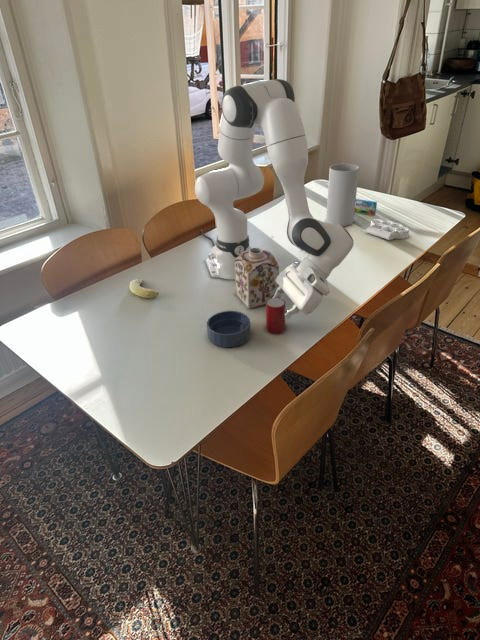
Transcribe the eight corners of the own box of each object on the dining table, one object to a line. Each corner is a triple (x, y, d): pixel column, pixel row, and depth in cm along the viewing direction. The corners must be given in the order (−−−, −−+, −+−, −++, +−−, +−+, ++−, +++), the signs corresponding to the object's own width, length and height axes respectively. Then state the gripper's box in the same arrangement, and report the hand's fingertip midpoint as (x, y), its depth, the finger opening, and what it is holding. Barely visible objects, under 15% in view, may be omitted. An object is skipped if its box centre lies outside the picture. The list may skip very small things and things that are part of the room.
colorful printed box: (350, 211, 224) (351, 199, 221) (351, 210, 225) (352, 198, 222) (374, 215, 219) (376, 202, 215) (375, 214, 220) (377, 201, 216)
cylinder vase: (333, 215, 221) (337, 162, 207) (357, 220, 215) (363, 165, 201) (321, 223, 213) (324, 169, 199) (346, 229, 206) (351, 172, 193)
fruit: (140, 304, 159) (139, 295, 157) (124, 286, 170) (123, 279, 168) (159, 297, 162) (158, 289, 160) (143, 281, 173) (141, 273, 171)
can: (263, 326, 145) (262, 300, 139) (279, 321, 146) (279, 295, 141) (271, 335, 140) (271, 309, 135) (288, 330, 142) (289, 304, 137)
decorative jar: (235, 294, 162) (232, 247, 152) (264, 286, 166) (264, 240, 156) (248, 310, 153) (247, 261, 143) (280, 301, 156) (280, 253, 147)
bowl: (202, 330, 144) (200, 317, 141) (240, 320, 148) (239, 306, 145) (217, 353, 134) (216, 339, 131) (257, 341, 138) (257, 327, 135)
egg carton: (359, 232, 203) (379, 223, 210) (394, 244, 191) (414, 234, 199) (360, 225, 201) (380, 216, 208) (395, 236, 189) (415, 226, 197)
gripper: (289, 254, 143) (260, 287, 146) (319, 284, 127) (286, 320, 130) (302, 265, 147) (274, 297, 150) (332, 295, 130) (300, 330, 133)
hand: (279, 308), depth 140 cm, fingers open, 8 cm apart
